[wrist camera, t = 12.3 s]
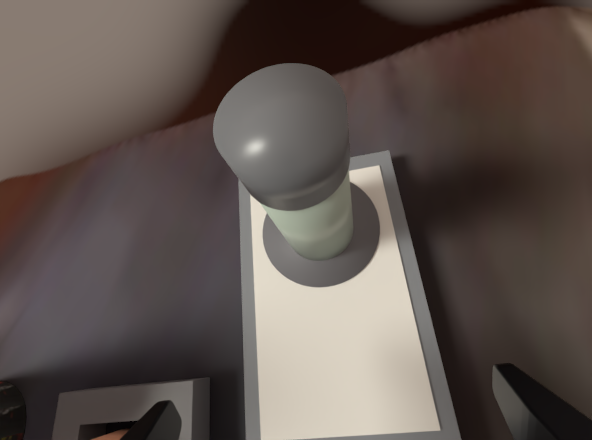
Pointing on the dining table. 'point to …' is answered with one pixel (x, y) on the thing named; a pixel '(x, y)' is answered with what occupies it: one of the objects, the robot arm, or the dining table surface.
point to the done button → (112, 435)
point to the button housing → (132, 408)
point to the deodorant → (11, 413)
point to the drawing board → (341, 327)
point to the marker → (292, 153)
